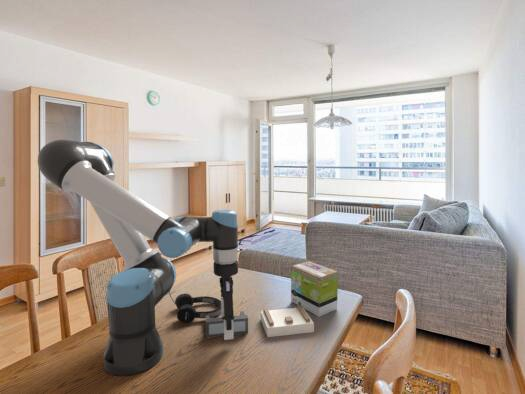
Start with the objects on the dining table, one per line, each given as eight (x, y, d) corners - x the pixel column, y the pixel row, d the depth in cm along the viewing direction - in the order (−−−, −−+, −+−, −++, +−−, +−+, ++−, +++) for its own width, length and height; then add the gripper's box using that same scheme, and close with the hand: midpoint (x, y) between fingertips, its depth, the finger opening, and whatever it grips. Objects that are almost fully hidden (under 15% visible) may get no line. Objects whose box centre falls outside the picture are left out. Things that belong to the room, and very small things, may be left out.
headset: (166, 282, 113) (220, 281, 119) (164, 307, 113) (218, 305, 120) (167, 297, 100) (227, 295, 106) (165, 325, 101) (225, 322, 107)
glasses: (205, 320, 105) (205, 306, 104) (243, 316, 107) (243, 302, 107) (206, 338, 94) (205, 322, 93) (248, 333, 96) (248, 318, 96)
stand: (260, 319, 105) (260, 308, 105) (302, 315, 108) (302, 304, 108) (267, 337, 94) (267, 324, 94) (313, 332, 97) (314, 319, 97)
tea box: (290, 302, 118) (290, 265, 117) (308, 295, 124) (309, 260, 123) (319, 318, 106) (319, 276, 105) (338, 309, 112) (339, 270, 111)
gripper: (243, 273, 83) (244, 348, 85) (234, 249, 107) (235, 307, 109) (214, 275, 81) (216, 351, 84) (212, 250, 105) (213, 310, 108)
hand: (227, 327), depth 96 cm, fingers open, 12 cm apart
